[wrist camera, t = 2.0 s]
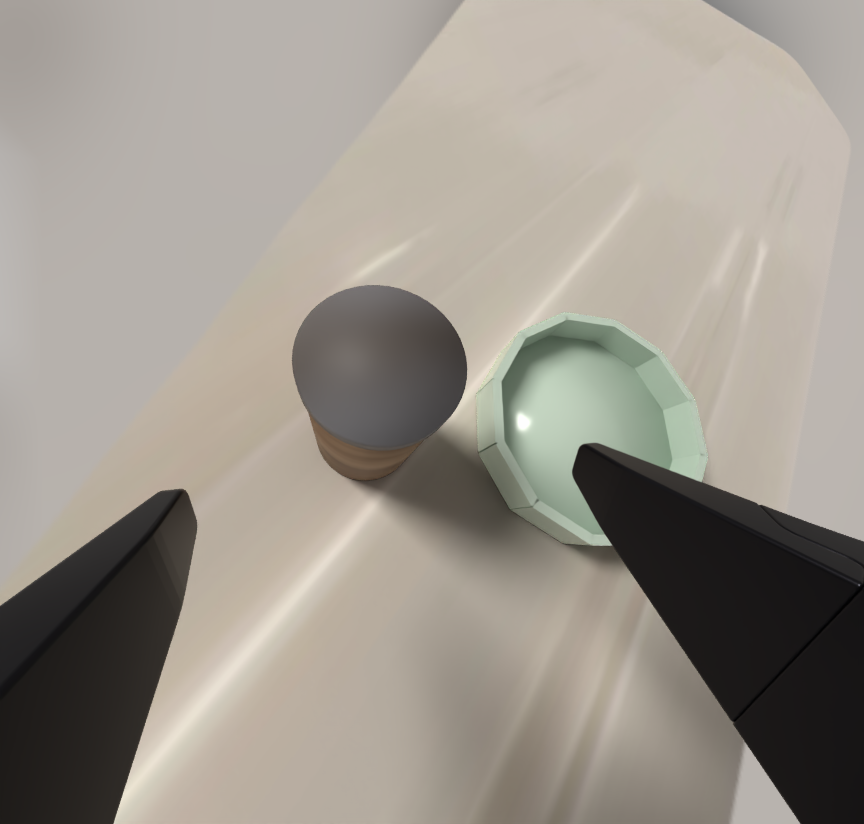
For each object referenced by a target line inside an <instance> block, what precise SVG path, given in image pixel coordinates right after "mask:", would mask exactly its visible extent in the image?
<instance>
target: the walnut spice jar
mask: <svg viewBox="0 0 864 824" xmlns="http://www.w3.org/2000/svg"><path fill="white" fill-rule="evenodd" d="M292 366H293V374H294V378H295V382H296V385H297V389H298V392H299V394H300V397H301V399H302V402H303V404H304V406H305V407H306V409H307V411H308V413H309V416H310V420H311V423H312V427H313V430H314V433H315V437H316V440H317V444H318V447H319V450H320V452H321V454H322V456H323V458H324V460H325V461H326V462H327V463H328V465H329V466H330V467H331V468H333V469H334V470H335V471H336V472H338V473H340V474H341V475H343V476H345V477H348V478H351V479H355V480H374V479H378V478H382V477H384V476H386V475H388V474H390V473H392V472H393V471H395V470H396V469H397V468H398V467H399V466H400V465H401V464H402V463H403V462H404V461H405V460H406V459H407V458H408V456H409V455H410V454H411V453H412V452H413V451H414V450H415V449H416V448H417V447H418V446H419V445H420V444H421V443H422V441H423V440H424V439H426V438H428V437H429V436H430V435H432V434H433V433H434V432H435V431H437V430H438V429H439V428H440V427H441V426H442V425H443V424H444V423H445V422H446V420H447V419H448V418H449V417H450V416H451V415H452V414H453V412H454V411H455V409H456V408H457V406H458V404H459V402H460V400H461V398H462V396H463V393H464V390H465V385H466V380H467V362H466V356H465V351H464V348H463V345H462V342H461V340H460V338H459V336H458V334H457V332H456V330H455V329H454V327H453V326H452V324H451V323H450V322H449V320H448V319H447V318H446V317H445V316H444V315H443V314H442V313H441V312H440V311H439V310H438V309H437V308H436V307H435V306H433V305H432V304H430V303H429V302H428V301H426V300H424V299H423V298H421V297H419V296H417V295H415V294H413V293H410V292H408V291H405V290H402V289H399V288H394V287H389V286H380V285H367V286H359V287H354V288H350V289H346V290H343V291H341V292H338V293H336V294H334V295H332V296H330V297H328V298H327V299H325V300H324V301H322V302H321V303H320V304H318V305H317V306H316V307H315V308H314V309H313V310H312V311H311V312H310V313H309V315H308V316H307V317H306V318H305V320H304V321H303V323H302V325H301V327H300V328H299V330H298V333H297V336H296V338H295V342H294V346H293V354H292Z"/></svg>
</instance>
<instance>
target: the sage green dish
mask: <svg viewBox="0 0 864 824" xmlns="http://www.w3.org/2000/svg"><path fill="white" fill-rule="evenodd" d="M694 399H695V398H694V397H693V395H692V394H691V393H690V391H689V390H688V388H687V387H686V385H685V384H684V382H683V381H682V380H681V378H680V377H679V375H678V374H677V372H676V371H675V369H674V368H673V367H672V365H671V364H670V362H669V361H668V359H667V358H666V356H665V355H664V353H663V352H661V350H660V349H658V348H657V347H655V346H654V345H652V344H651V343H649V342H648V341H646V340H645V339H643V338H642V337H640V336H639V335H637V334H636V333H634V332H633V331H631V330H630V329H628V328H627V327H625V326H624V325H622V324H621V323H619V322H618V321H616V320H614V319H607V318H601V317H594V316H588V315H581V314H575V313H568V312H563V313H561V314H558V315H556V316H554V317H552V318H549V319H547V320H545V321H542V322H540V323H538V324H535V325H533V326H531V327H529V328H526V329H524V330H522V331H520V332H519V333H518V334H517V335H516V336H515V337H514V338H513V339H512V340H511V341H510V343H509V344H508V345H507V346H506V347H505V348H504V349H503V350H502V351H501V353H500V355H499V356H498V358H497V360H496V361H495V363H494V365H493V366H492V368H491V370H490V372H489V373H488V375H487V377H486V378H485V380H484V382H483V384H482V385H481V387H480V389H479V390H478V392H477V395H476V408H477V441H478V452H480V453H479V456H480V458H481V459H482V461H483V463H484V465H485V467H486V468H487V470H488V472H489V474H490V475H491V477H492V479H493V481H494V482H495V484H496V486H497V488H498V489H499V491H500V493H501V495H502V497H503V498H504V500H505V502H506V504H507V505H508V507H509V509H511V511H513V512H515V513H516V514H518V515H519V516H521V517H522V518H524V519H525V520H527V521H528V522H530V523H532V524H533V525H535V526H536V527H538V528H539V529H541V530H542V531H544V532H546V533H547V534H549V535H550V536H552V537H553V538H555V539H556V540H558V541H560V542H561V543H564V544H577V545H591V546H612V544H611V543H610V541H609V540H608V538H607V537H606V535H605V534H604V532H603V531H602V529H601V528H600V526H599V524H598V522H597V521H596V519H595V517H594V515H593V513H592V512H591V510H590V508H589V506H588V504H587V503H586V501H585V499H584V497H583V495H582V493H581V492H580V490H579V488H578V486H577V484H576V483H575V481H574V479H573V476H572V468H573V465H574V461H575V458H576V455H577V451H578V449H579V447H580V446H581V445H582V444H586V443H599V444H602V445H605V446H607V447H610V448H613V449H615V450H618V451H621V452H623V453H626V454H628V455H631V456H634V457H636V458H639V459H642V460H644V461H647V462H650V463H652V464H655V465H657V466H660V467H663V468H665V469H668V470H671V471H673V472H676V473H679V474H681V475H684V476H687V477H689V478H692V479H694V480H697V481H700V482H702V479H703V475H704V471H705V468H706V464H707V460H708V457H707V456H708V454H707V449H706V445H705V440H704V436H703V432H702V427H701V423H700V418H699V414H698V409H697V405H696V400H694Z"/></svg>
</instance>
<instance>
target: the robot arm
mask: <svg viewBox="0 0 864 824" xmlns="http://www.w3.org/2000/svg"><path fill="white" fill-rule="evenodd" d="M572 476H573V479H574V481H575V483H576V484H577V486H578V488H579V490H580V492H581V493H582V495H583V497H584V499H585V501H586V503H587V504H588V506H589V508H590V510H591V512H592V513H593V515H594V517H595V519H596V521H597V522H598V524H599V526H600V528H601V529H602V531H603V532H604V534H605V535H606V537H607V538H608V540H609V541H610V543H611V544H612V546H613V547H614V549H615V550H616V552H617V553H618V555H619V556H620V558H621V559H622V561H623V562H624V564H625V565H626V566H627V568H628V569H629V571H630V572H631V574H632V575H633V577H634V578H635V580H636V581H637V583H638V584H639V586H640V587H641V589H642V590H643V592H644V593H645V594H646V596H647V597H648V599H649V600H650V602H651V603H652V605H653V606H654V608H655V609H656V611H657V612H658V614H659V615H660V617H661V618H662V620H663V621H664V622H665V624H666V625H667V627H668V628H669V630H670V631H671V633H672V634H673V636H674V637H675V639H676V640H677V642H678V643H679V645H680V646H681V648H682V649H683V650H684V652H685V653H686V655H687V656H688V658H689V659H690V661H691V662H692V664H693V665H694V667H695V668H696V670H697V671H698V673H699V674H700V676H701V677H702V679H703V680H704V681H705V683H706V684H707V686H708V687H709V689H710V690H711V692H712V693H713V695H714V696H715V698H716V699H717V701H718V702H719V704H720V705H721V707H722V708H723V709H724V711H725V712H726V714H727V715H728V717H729V718H730V720H731V721H732V722H733V725H734V726H735V728H736V729H737V731H738V732H739V734H740V735H741V737H742V738H743V740H744V741H745V742H746V744H747V745H748V747H749V748H750V750H751V751H752V753H753V754H754V756H755V757H756V759H757V760H758V762H759V763H760V765H761V766H762V768H763V769H764V770H765V772H766V773H767V775H768V776H769V778H770V779H771V781H772V782H773V784H774V785H775V787H776V788H777V790H778V791H779V793H780V794H781V796H782V797H783V799H784V800H785V802H786V803H787V804H788V806H789V807H790V809H791V810H792V812H793V813H794V815H795V816H796V818H797V819H798V821H799V822H800V824H864V542H863V541H861V540H857V539H855V538H852V537H849V536H846V535H843V534H840V533H837V532H834V531H832V530H829V529H826V528H823V527H820V526H817V525H814V524H811V523H809V522H806V521H803V520H801V519H798V518H795V517H792V516H790V515H787V514H784V513H782V512H779V511H776V510H774V509H771V508H769V507H766V506H763V505H758V504H757V503H755V502H752V501H750V500H747V499H745V498H742V497H739V496H737V495H734V494H731V493H729V492H726V491H723V490H721V489H718V488H716V487H713V486H710V485H708V484H705V483H702V482H700V481H697V480H694V479H692V478H689V477H687V476H684V475H681V474H679V473H676V472H673V471H671V470H668V469H665V468H663V467H660V466H657V465H655V464H652V463H650V462H647V461H644V460H642V459H639V458H636V457H634V456H631V455H628V454H626V453H623V452H621V451H618V450H615V449H613V448H610V447H607V446H605V445H602V444H599V443H586V444H582V445H581V446H580V447H579V449H578V451H577V455H576V458H575V461H574V465H573V468H572ZM196 533H197V520H196V516H195V513H194V510H193V507H192V504H191V501H190V498H189V495H188V493H187V492H186V490H184V489H174V490H165V491H160V492H158V493H157V494H155V495H154V496H152V497H151V498H150V499H148V500H147V501H145V502H144V503H143V504H141V505H140V506H138V507H137V508H136V509H134V510H133V511H131V512H130V513H129V514H127V515H126V516H124V517H123V518H122V519H120V520H119V521H118V522H116V523H115V524H113V525H112V526H111V527H109V528H108V529H106V530H105V531H104V532H102V533H101V534H99V535H98V536H97V537H95V538H94V539H92V540H91V541H90V542H88V543H87V544H86V545H84V546H83V547H81V548H80V549H79V550H77V551H76V552H74V553H73V554H72V555H70V556H69V557H67V558H66V559H65V560H63V561H62V562H61V563H59V564H58V565H56V566H55V567H54V568H52V569H51V570H49V571H48V572H47V573H45V574H44V575H42V576H41V577H40V578H38V579H37V580H35V581H34V582H33V583H31V584H30V585H29V586H27V587H26V588H24V589H23V590H22V591H20V592H19V593H17V594H16V595H15V596H13V597H12V598H10V599H9V600H8V601H6V602H5V603H3V604H2V605H1V606H0V824H113V823H114V820H115V817H116V814H117V811H118V807H119V804H120V801H121V798H122V795H123V792H124V789H125V785H126V782H127V779H128V776H129V773H130V770H131V767H132V763H133V760H134V757H135V754H136V751H137V748H138V745H139V741H140V738H141V735H142V732H143V729H144V726H145V723H146V719H147V716H148V713H149V710H150V707H151V704H152V701H153V698H154V694H155V691H156V688H157V685H158V682H159V679H160V676H161V672H162V669H163V666H164V663H165V660H166V657H167V654H168V650H169V647H170V644H171V641H172V638H173V635H174V632H175V628H176V625H177V622H178V619H179V615H180V612H181V609H182V605H183V600H184V596H185V591H186V586H187V581H188V575H189V570H190V565H191V560H192V554H193V549H194V544H195V539H196Z"/></svg>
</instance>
